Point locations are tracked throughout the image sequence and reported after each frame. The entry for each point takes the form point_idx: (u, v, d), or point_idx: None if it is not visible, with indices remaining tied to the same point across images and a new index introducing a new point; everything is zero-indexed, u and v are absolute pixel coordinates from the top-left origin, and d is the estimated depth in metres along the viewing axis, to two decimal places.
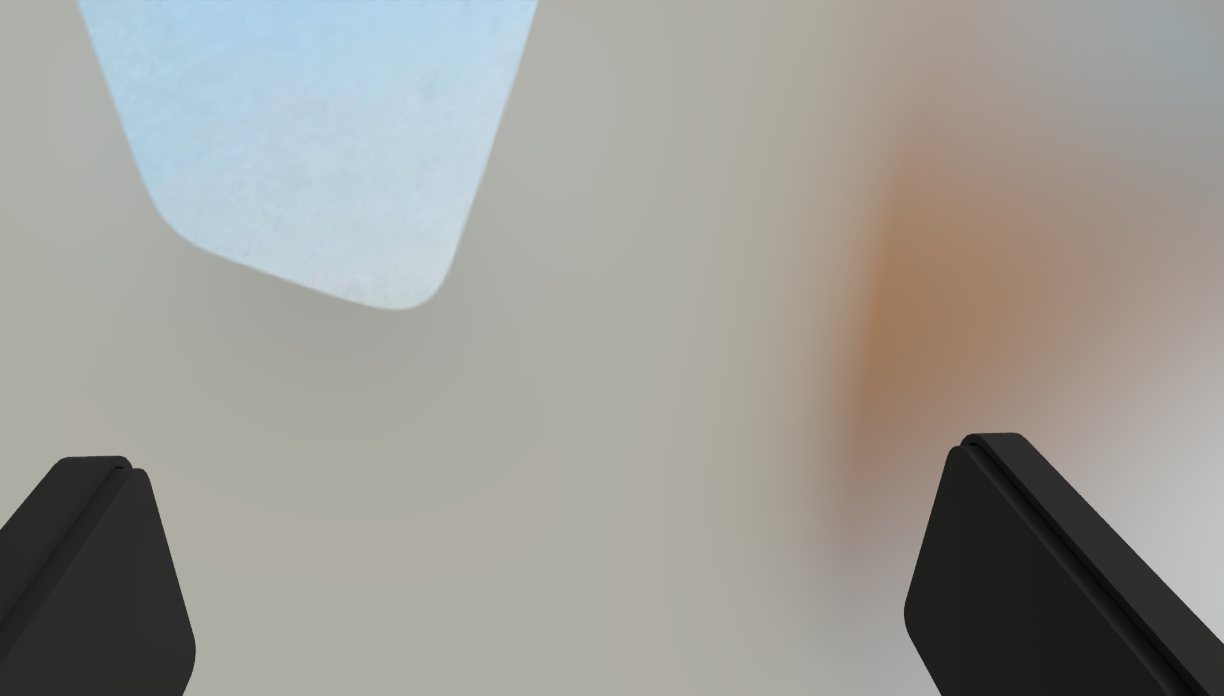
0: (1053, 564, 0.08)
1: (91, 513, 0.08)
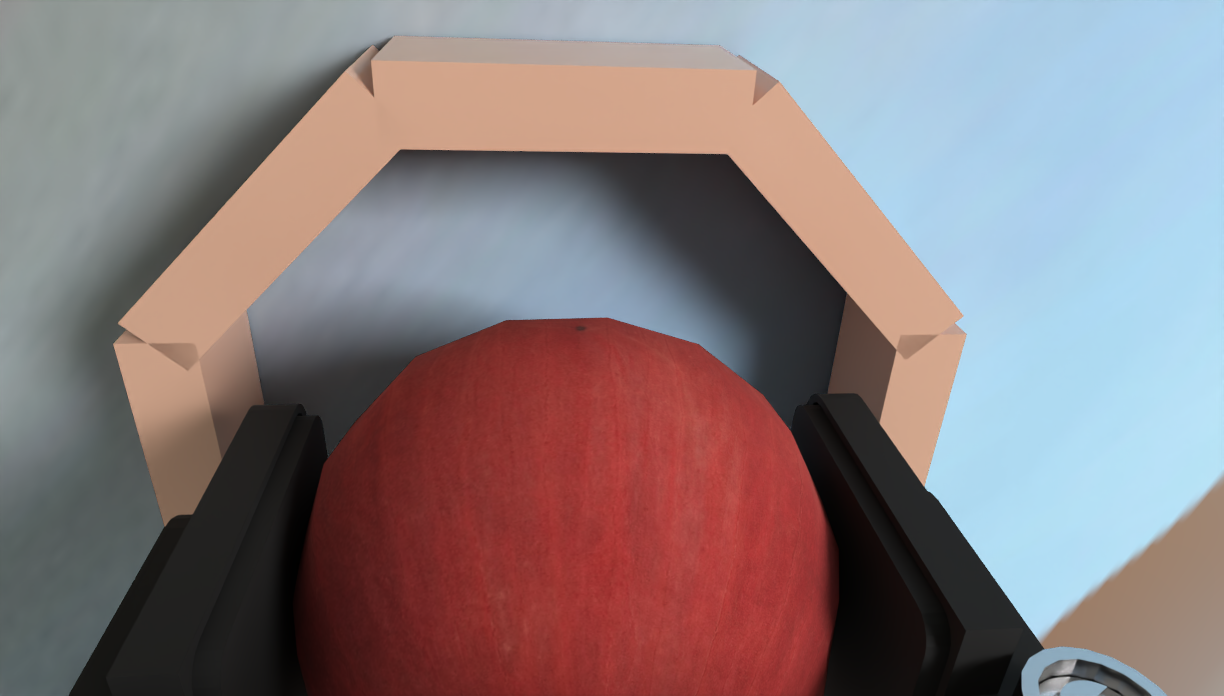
0: (856, 506, 0.08)
1: (291, 450, 0.09)
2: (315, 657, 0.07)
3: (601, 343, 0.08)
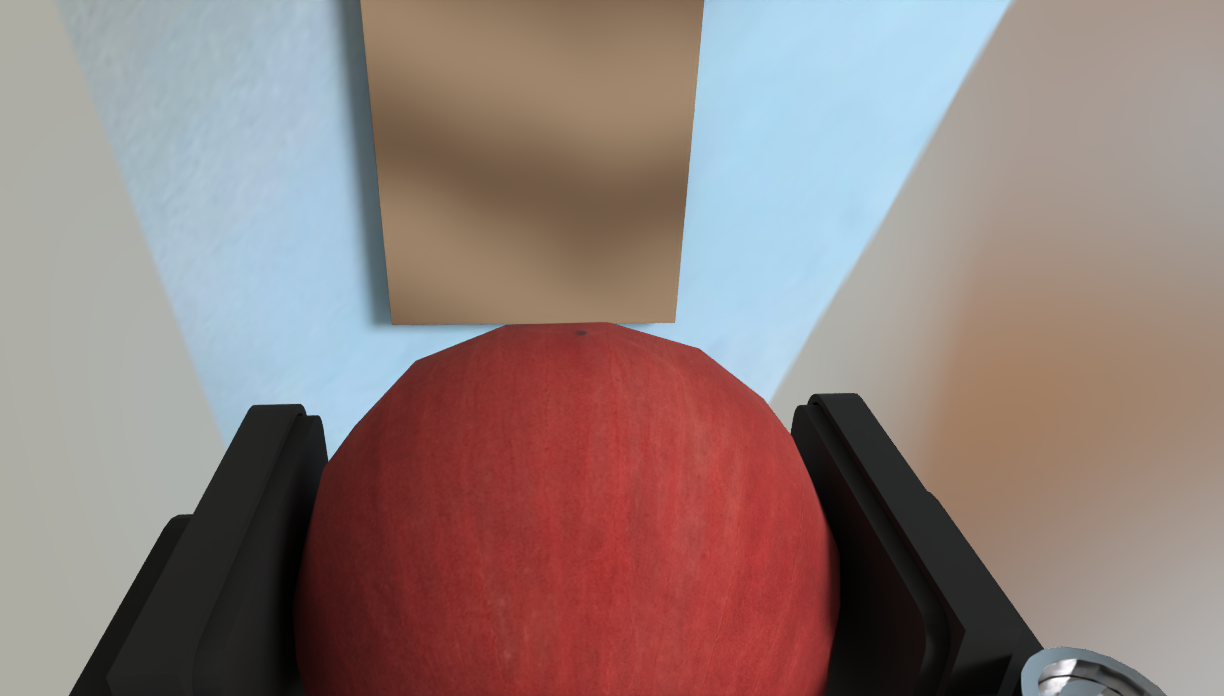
0: (857, 506, 0.08)
1: (291, 450, 0.09)
2: (314, 663, 0.07)
3: (601, 348, 0.08)
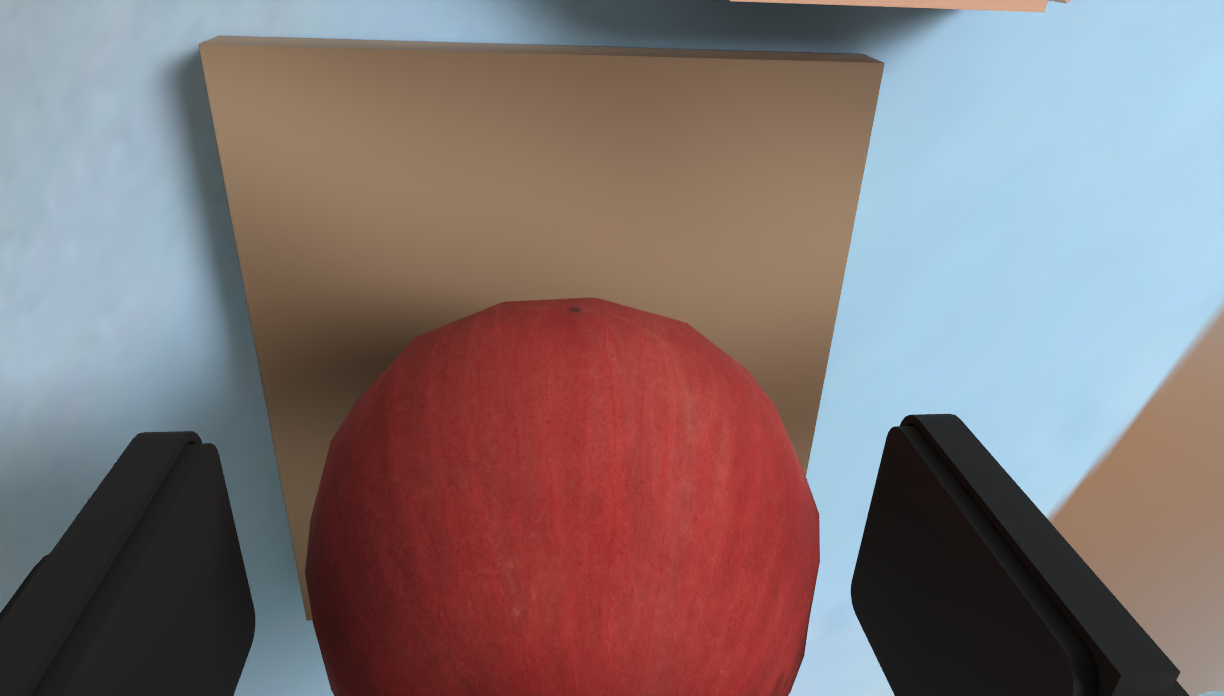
0: (974, 537, 0.08)
1: (172, 483, 0.08)
2: (332, 624, 0.08)
3: (596, 324, 0.08)
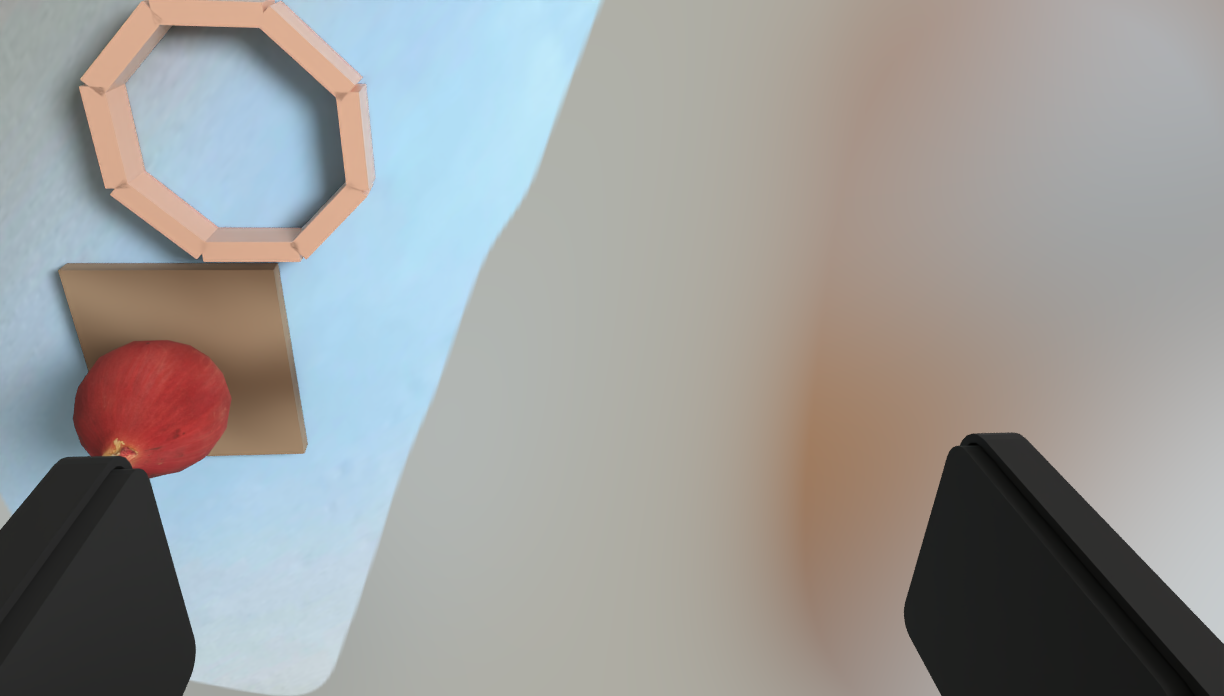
0: (1053, 564, 0.08)
1: (91, 513, 0.08)
2: (74, 416, 0.33)
3: (147, 347, 0.34)
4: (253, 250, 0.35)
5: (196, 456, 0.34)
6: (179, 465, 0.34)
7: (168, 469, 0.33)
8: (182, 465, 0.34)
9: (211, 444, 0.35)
